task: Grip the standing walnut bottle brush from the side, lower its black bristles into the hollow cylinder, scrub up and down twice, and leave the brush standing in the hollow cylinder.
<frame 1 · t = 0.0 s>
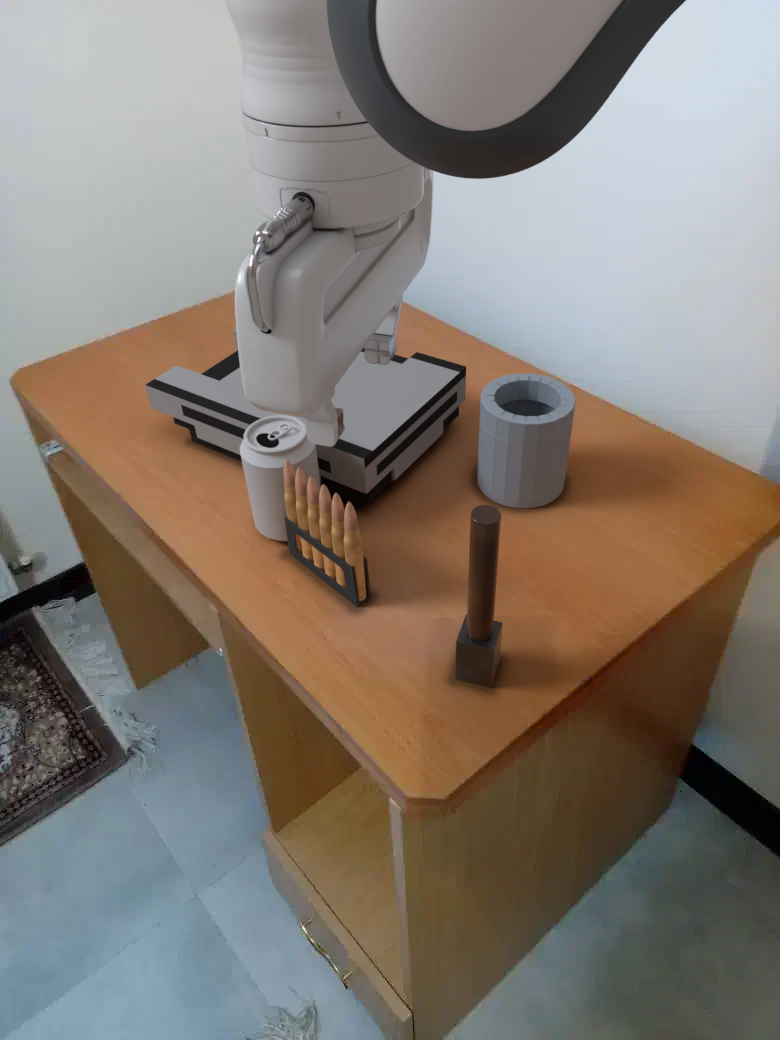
hand: (355, 396, 49), 29 cm above the table, tool pointing down, fingers open, 8 cm apart
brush: (477, 669, 69), on the table
hollow cylinder: (520, 481, 89), on the table
ammunition clip: (329, 576, 79), on the table
game console: (310, 430, 98), on the table
can: (290, 524, 85), on the table
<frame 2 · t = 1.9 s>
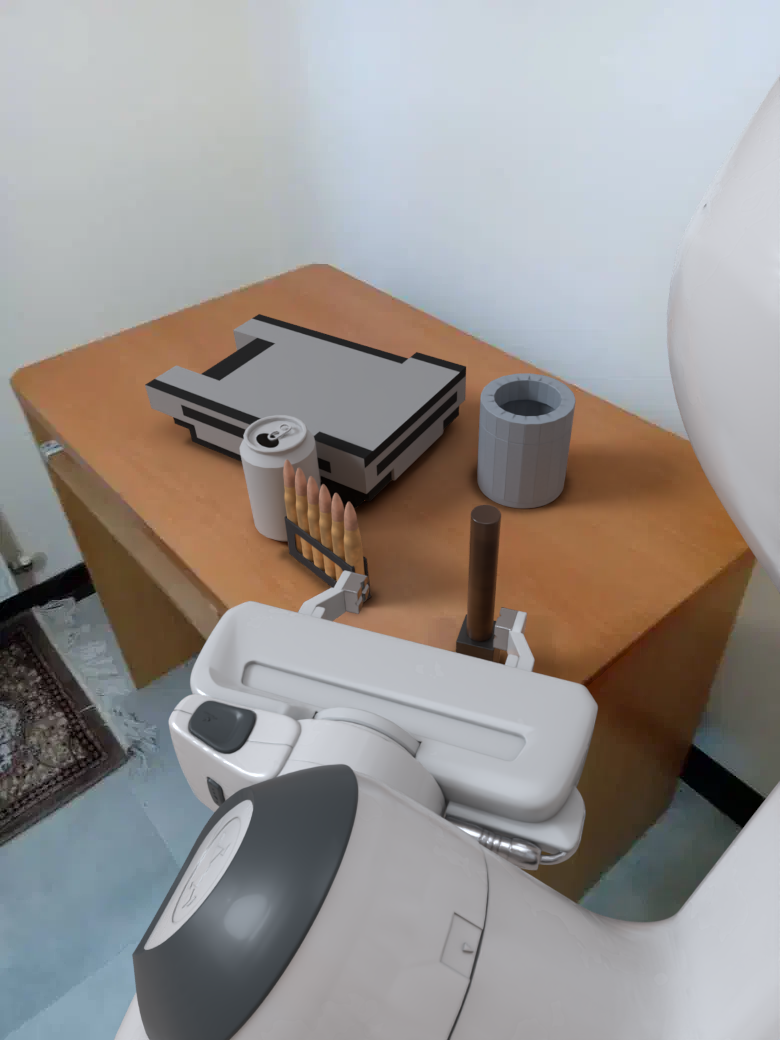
hand: (433, 598, 46), 22 cm above the table, tool horizontal, fingers open, 8 cm apart
nothing on the table moved.
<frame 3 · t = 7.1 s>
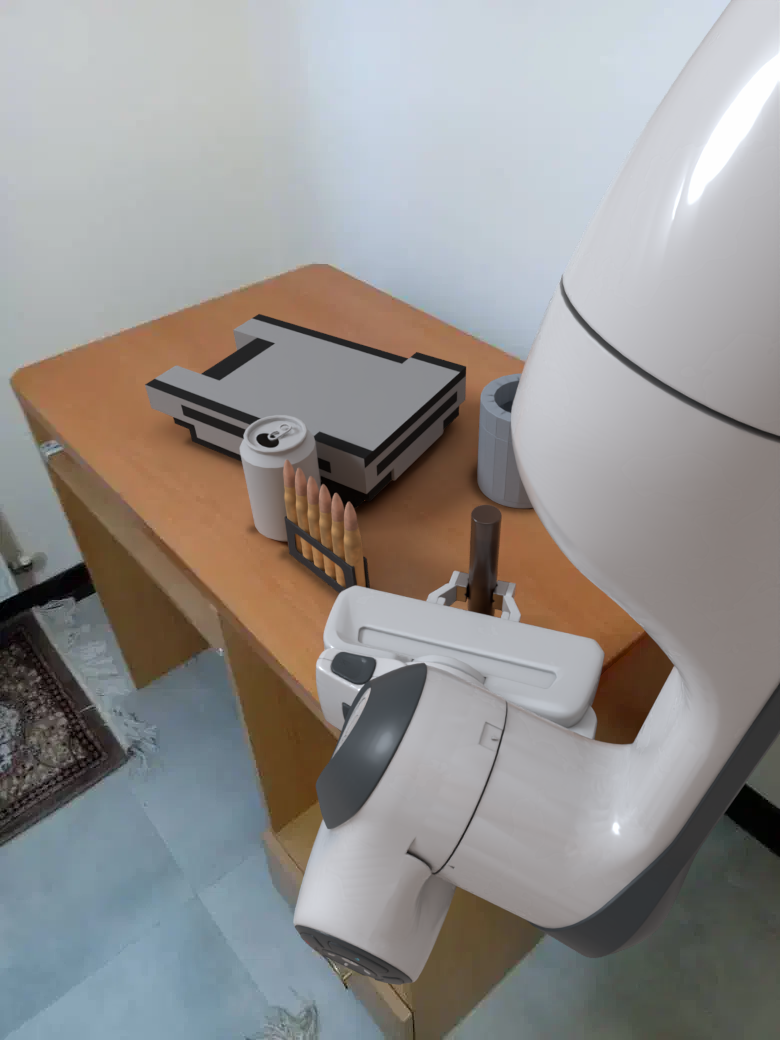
hand: (484, 582, 63), 10 cm above the table, tool horizontal, fingers closed on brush, 2 cm apart
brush: (477, 669, 69), on the table, touching gripper
everything else where it was.
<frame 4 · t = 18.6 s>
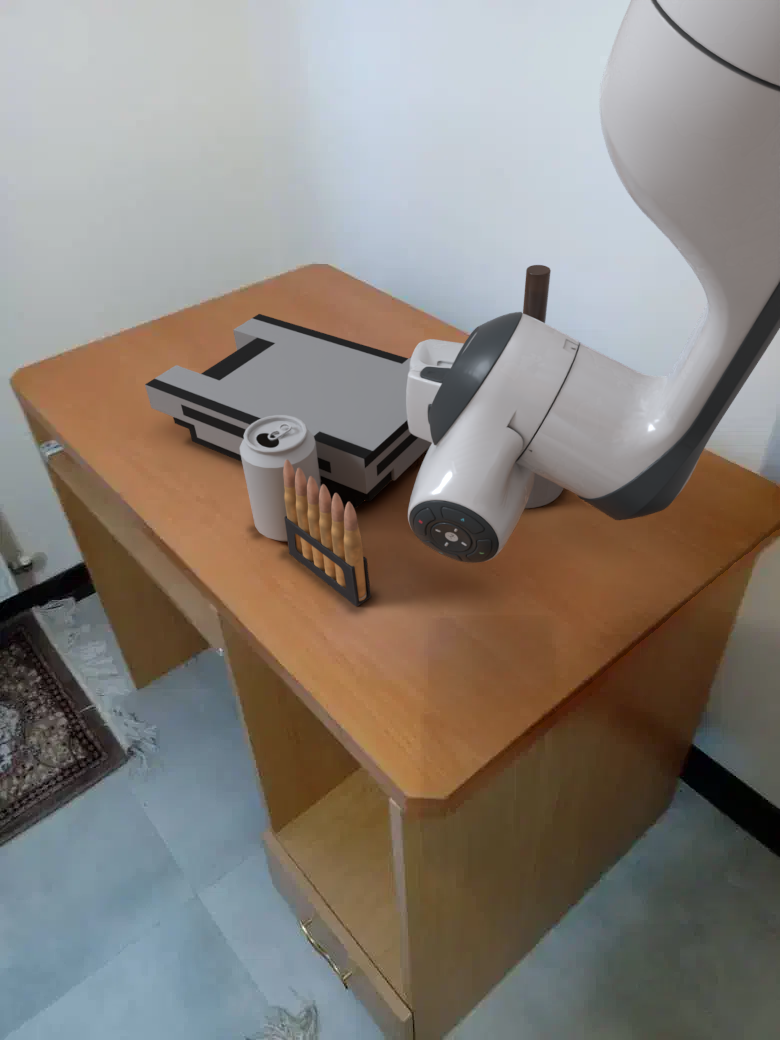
hand: (532, 343, 78), 17 cm above the table, tool horizontal, fingers closed on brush, 2 cm apart
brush: (523, 431, 84), point 7 cm above the table, touching gripper
everything else where it was.
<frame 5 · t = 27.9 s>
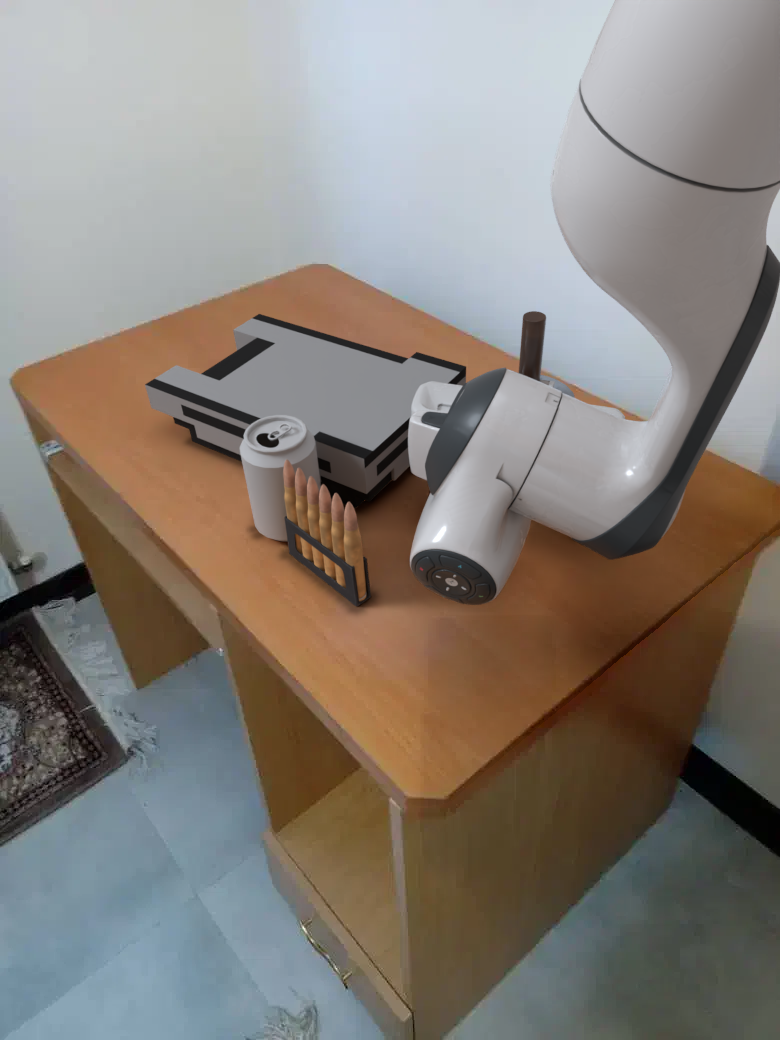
hand: (529, 383, 81), 12 cm above the table, tool horizontal, fingers closed on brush, 2 cm apart
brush: (521, 466, 87), point 2 cm above the table, touching gripper
everything else where it was.
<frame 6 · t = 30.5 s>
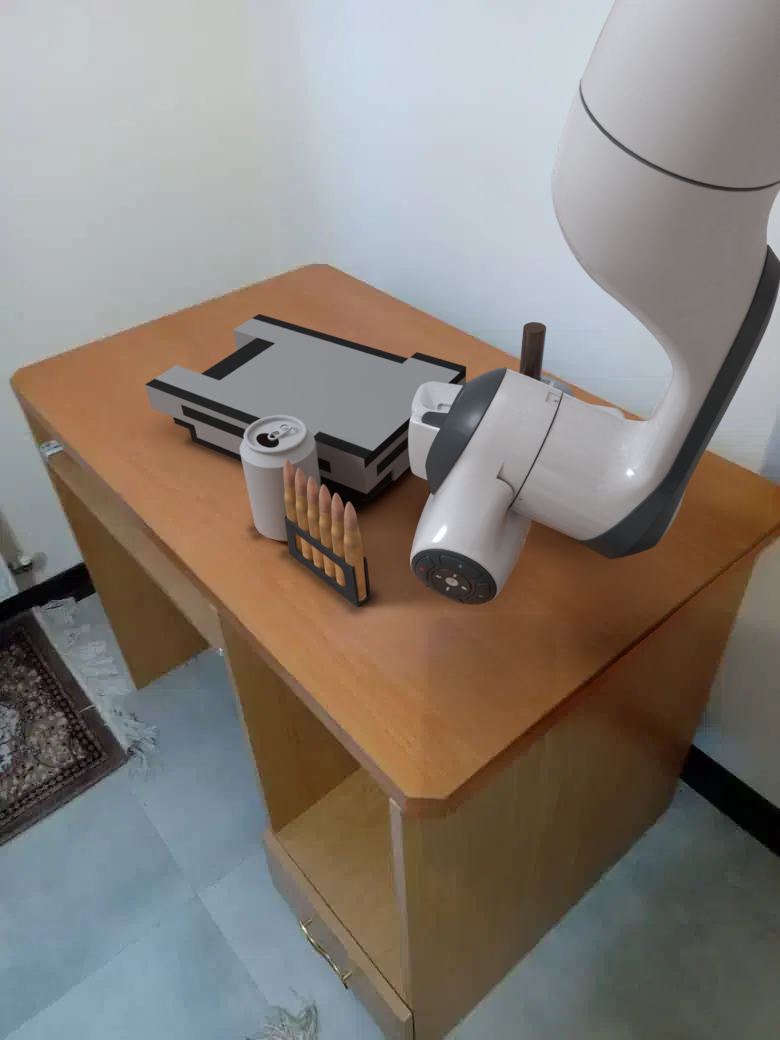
hand: (530, 383, 81), 12 cm above the table, tool horizontal, fingers closed on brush, 2 cm apart
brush: (520, 475, 88), point 1 cm above the table, touching gripper
everything else where it was.
when the fingers open (15 cm above the table, at t = 31.5 s): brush drops 3 cm, resting on hollow cylinder.
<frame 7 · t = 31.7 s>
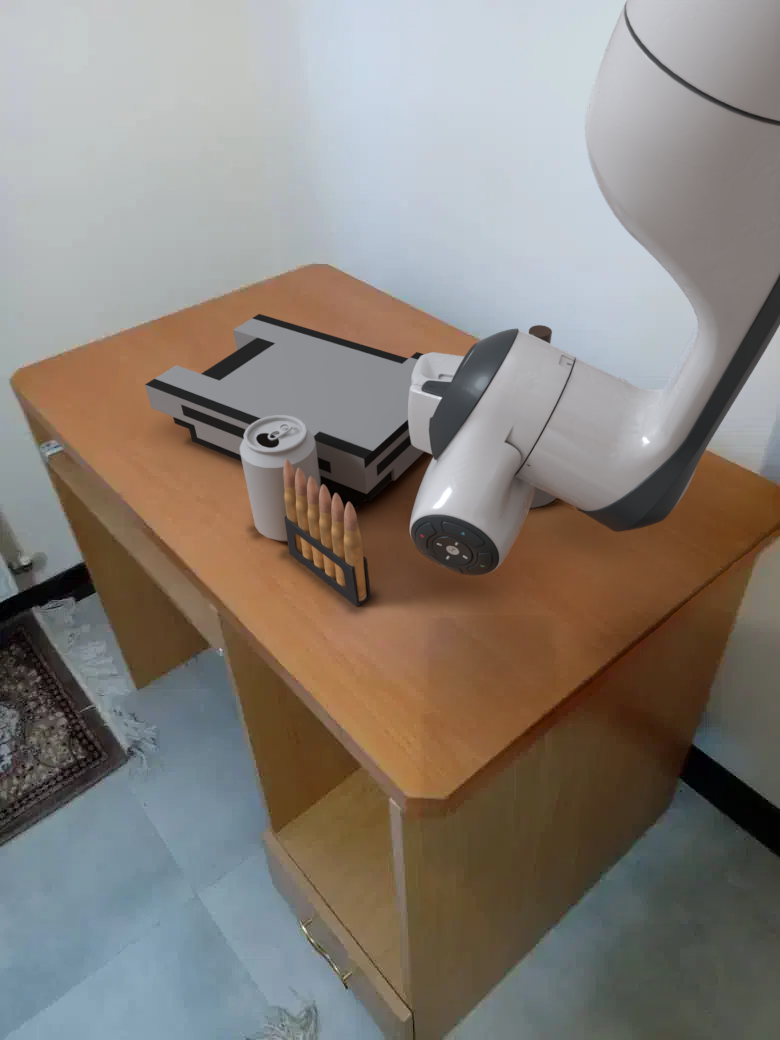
hand: (533, 355, 79), 15 cm above the table, tool horizontal, fingers open, 3 cm apart
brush: (521, 475, 88), point 1 cm above the table, touching hollow cylinder, gripper
everything else where it was.
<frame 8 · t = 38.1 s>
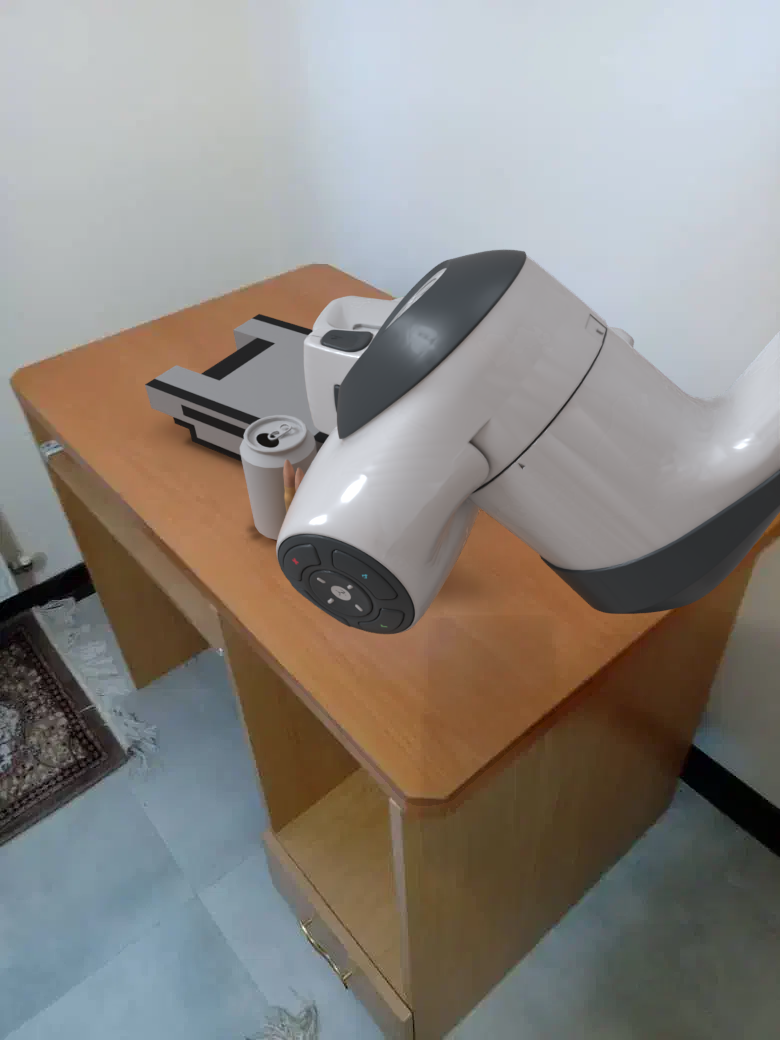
hand: (495, 302, 56), 30 cm above the table, tool horizontal, fingers open, 8 cm apart
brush: (521, 475, 88), point 1 cm above the table, touching hollow cylinder
everything else where it was.
at the end: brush inside the target area in the hollow cylinder (0.1 cm from its centre), point 0.8 cm above the hollow cylinder's base; the gripper is holding nothing; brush moved 27.0 cm from its start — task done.
